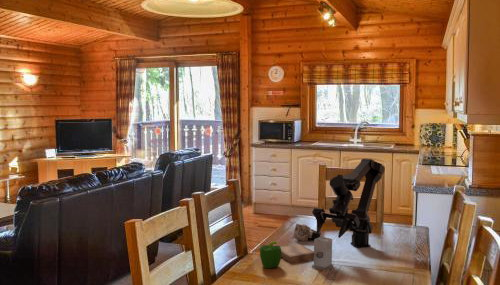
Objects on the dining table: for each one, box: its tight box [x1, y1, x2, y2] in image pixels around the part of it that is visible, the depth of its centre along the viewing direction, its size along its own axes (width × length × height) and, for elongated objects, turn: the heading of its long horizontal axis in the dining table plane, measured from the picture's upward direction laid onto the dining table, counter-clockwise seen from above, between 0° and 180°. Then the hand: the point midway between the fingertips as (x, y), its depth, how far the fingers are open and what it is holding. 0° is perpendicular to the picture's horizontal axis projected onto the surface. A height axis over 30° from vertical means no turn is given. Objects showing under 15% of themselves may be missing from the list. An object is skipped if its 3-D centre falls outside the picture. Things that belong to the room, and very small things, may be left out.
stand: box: [280, 243, 314, 264], centre depth 201 cm, size 12×12×3 cm
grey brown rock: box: [292, 223, 321, 243], centre depth 225 cm, size 7×11×10 cm
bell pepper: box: [259, 241, 282, 269], centre depth 189 cm, size 8×8×10 cm
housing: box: [311, 236, 335, 272], centre depth 188 cm, size 6×6×11 cm
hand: (328, 235), depth 190 cm, fingers open, 9 cm apart
